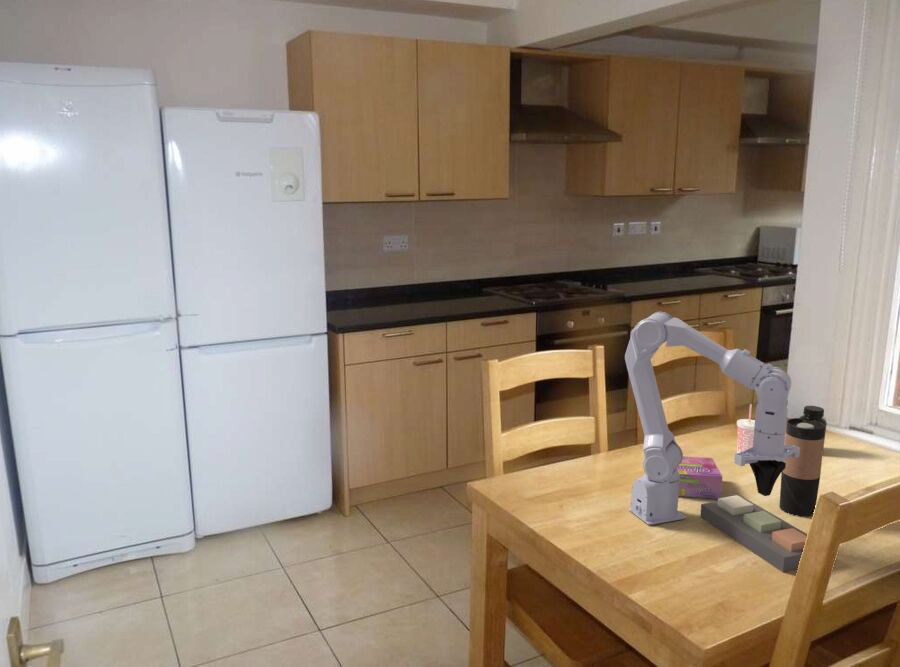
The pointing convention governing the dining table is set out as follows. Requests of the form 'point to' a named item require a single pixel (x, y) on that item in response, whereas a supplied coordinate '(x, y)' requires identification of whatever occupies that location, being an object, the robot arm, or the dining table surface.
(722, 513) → the console
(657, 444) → the robot arm
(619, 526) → the dining table surface
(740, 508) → the cream button
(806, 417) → the supplement bottle
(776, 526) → the sage button
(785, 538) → the terracotta button
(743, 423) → the beverage cup
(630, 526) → the dining table surface
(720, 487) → the box
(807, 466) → the travel mug
